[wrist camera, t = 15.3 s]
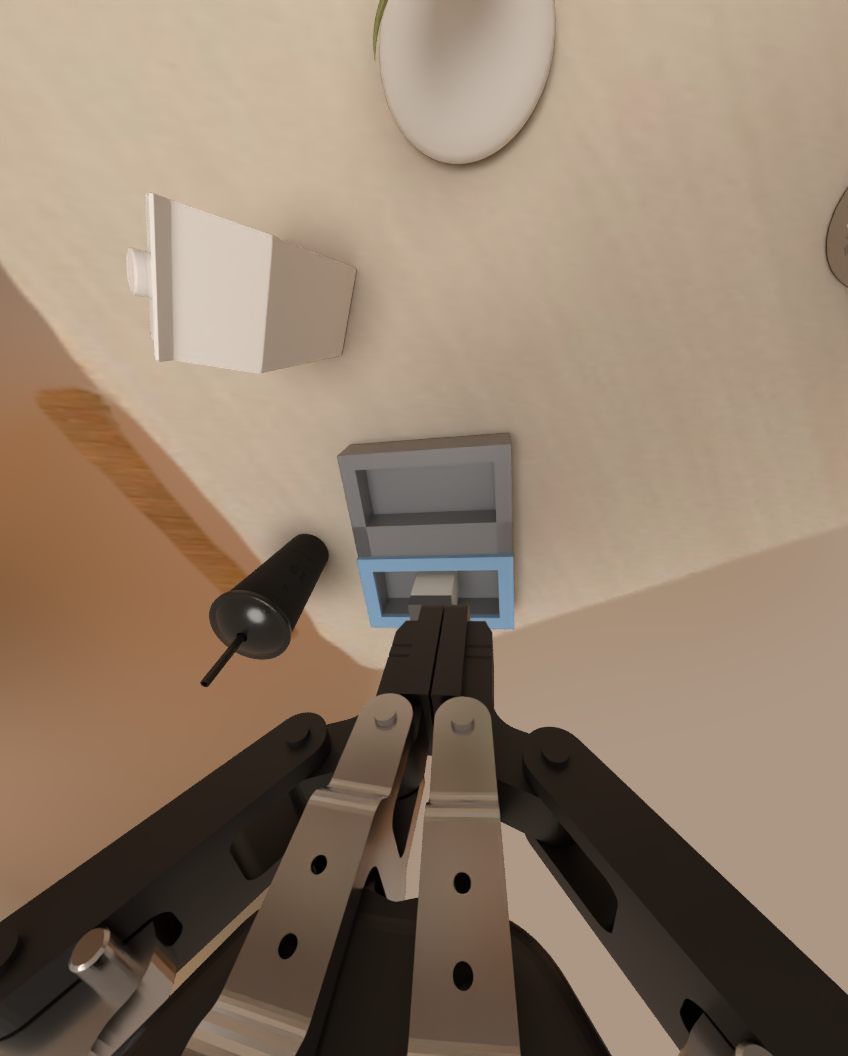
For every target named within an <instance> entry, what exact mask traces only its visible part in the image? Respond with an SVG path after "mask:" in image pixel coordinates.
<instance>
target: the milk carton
mask: <svg viewBox="0 0 848 1056" xmlns="http://www.w3.org/2000/svg"><path fill="white" fill-rule="evenodd" d="M145 199H146V229H147V252H146V251H145V252H144V251H141V250H139V249H135V248H129V249H128V251H127V255H126V268H127V278H128V284H129V287H130V290H131V292H132V293H133V294H134V295H137V296H142V297H148V298H149V302H150V325H151V338H152V340H153V341H154V347H155V359H156V361H158V362H162V361H170V360H175V361H181V362H187V363H194V364H200V365H207V366H213V367H219V368H226V369H232V370H238V371H245V372H251V373H258V374H261V373H264V372H269V371H273V370H278V369H282V368H287V367H291V366H296V365H300V364H305V363H309V362H314V361H318V360H323V359H327V358H332V357H337V356H340V355H341V354H342V350H343V345H344V339H345V333H346V327H347V322H348V316H349V310H350V304H351V299H352V293H353V287H354V281H355V275H356V269H355V268H353V267H351V266H348V265H346V264H343V263H341V262H338V261H336V260H333V259H331V258H328V257H326V256H323V255H320V254H318V253H315V252H313V251H310V250H308V249H305V248H303V247H300V246H298V245H295V244H293V243H290V242H287V241H285V240H282V239H280V238H277V237H275V236H272V235H270V234H267V233H264V232H261V231H258V230H256V229H253V228H250V227H247V226H244V225H241V224H238V223H236V222H233V221H230V220H227V219H224V218H221V217H218V216H216V215H213V214H210V213H207V212H204V211H201V210H198V209H196V208H193V207H190V206H187V205H184V204H181V203H179V202H176V201H173V200H170V199H167V198H165V197H162V196H159V195H157V194H154V193H151V192H150V193H149V194H145Z"/></svg>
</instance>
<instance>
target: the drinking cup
mask: <svg viewBox="0 0 848 1056" xmlns="http://www.w3.org/2000/svg"><path fill="white" fill-rule="evenodd" d="M327 560H328V550H327V548H326V546H325V544H324V543H323V542H322V541H321V540H320V539H318V538H317V537H315V536H312V535H309V534H301V535H298V536H296V537H295V538H293V539H292V540H291V541H290V542H289V543H287V544H286V545H285V546H284V547H282V548H281V549H280V550H279V551H278V552H276V553H275V554H274V555H273V556H272V557H270V558H269V559H268V560H267V561H266V562H264V563H263V564H262V565H261V566H260V567H258V568H257V569H256V570H255V571H254V572H252V573H251V574H250V575H249V576H248V577H246V578H245V579H244V580H243V581H242V582H240V583H239V584H238V585H237V586H235V587H234V588H233V589H232V590H231V591H229V592H226V593H224V594H222V595H220V596H219V597H218V598H217V599H216V600H215V601H214V602H213V603H212V605H211V608H210V612H209V619H210V624H211V627H212V629H213V631H214V633H215V634H216V635H217V637H218V638H219V639H220V640H221V641H222V642H223V643H224V644H225V645H226V646H227V647H228V648H227V650H226V651H225V652H224V654H223V655H222V656H221V657H220V658H219V660H218V661H217V662H216V663H215V665H214V666H213V667H212V669H210V671H209V672H208V673H207V674H206V676H205V677H204V678H203V680H202V681H201V682H200V683H201V685H202V686H204V687H208V686H209V685H210V684H211V682H212V681H213V680H214V678H215V677H216V676H217V675H218V673H219V672H220V671H221V669H222V668H223V667H224V666H225V664H226V663H227V662H228V661H229V659H230V658H231V657H232V655H233V654H234V653H235V652H237V653H238V654H240V655H243V656H246V657H249V658H253V659H261V660H262V659H271V658H275V657H277V656H279V655H280V654H282V653H283V652H284V651H285V650H286V649H287V647H288V645H289V644H290V641H291V636H292V631H293V629H294V627H295V625H296V623H297V621H298V619H299V617H300V615H301V613H302V611H303V609H304V607H305V605H306V603H307V601H308V599H309V597H310V595H311V593H312V591H313V589H314V587H315V585H316V583H317V581H318V579H319V577H320V575H321V573H322V571H323V569H324V567H325V565H326V563H327Z"/></svg>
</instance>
